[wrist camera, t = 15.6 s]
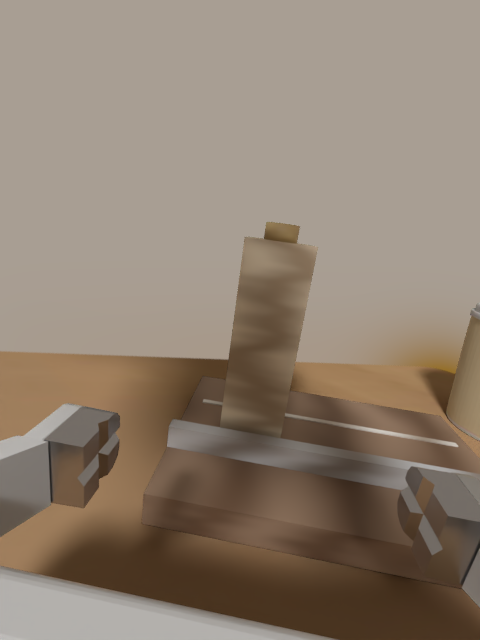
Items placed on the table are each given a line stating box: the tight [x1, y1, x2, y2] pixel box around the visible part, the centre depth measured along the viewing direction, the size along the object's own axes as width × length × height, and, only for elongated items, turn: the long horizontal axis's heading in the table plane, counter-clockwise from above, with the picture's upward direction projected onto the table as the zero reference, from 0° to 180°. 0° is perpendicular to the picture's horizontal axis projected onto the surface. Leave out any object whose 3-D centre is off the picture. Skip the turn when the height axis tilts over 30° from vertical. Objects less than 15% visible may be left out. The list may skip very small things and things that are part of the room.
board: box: [142, 376, 480, 589], centre depth 22 cm, size 22×14×4 cm, turn 84°
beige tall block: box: [220, 222, 318, 438], centre depth 21 cm, size 4×5×14 cm
